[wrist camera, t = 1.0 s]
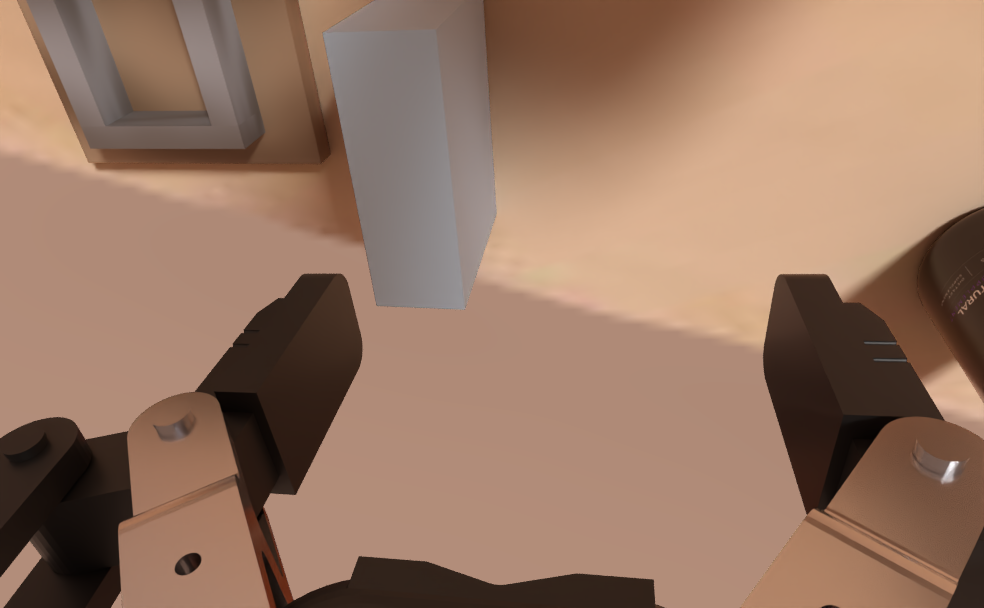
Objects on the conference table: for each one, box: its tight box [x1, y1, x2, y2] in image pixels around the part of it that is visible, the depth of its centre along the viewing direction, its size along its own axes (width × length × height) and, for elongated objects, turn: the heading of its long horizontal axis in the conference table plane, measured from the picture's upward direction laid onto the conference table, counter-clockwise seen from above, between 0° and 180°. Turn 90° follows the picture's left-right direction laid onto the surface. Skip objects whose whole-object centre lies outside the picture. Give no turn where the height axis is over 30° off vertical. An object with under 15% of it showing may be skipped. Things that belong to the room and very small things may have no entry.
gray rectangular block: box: [323, 0, 497, 310], centre depth 25 cm, size 10×4×8 cm, turn 3°
